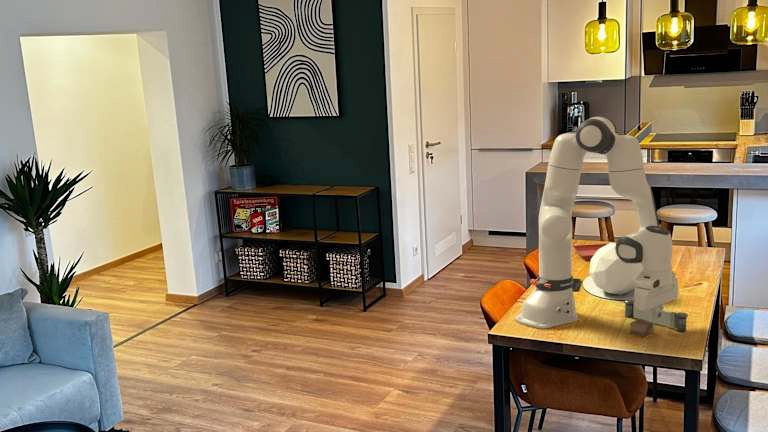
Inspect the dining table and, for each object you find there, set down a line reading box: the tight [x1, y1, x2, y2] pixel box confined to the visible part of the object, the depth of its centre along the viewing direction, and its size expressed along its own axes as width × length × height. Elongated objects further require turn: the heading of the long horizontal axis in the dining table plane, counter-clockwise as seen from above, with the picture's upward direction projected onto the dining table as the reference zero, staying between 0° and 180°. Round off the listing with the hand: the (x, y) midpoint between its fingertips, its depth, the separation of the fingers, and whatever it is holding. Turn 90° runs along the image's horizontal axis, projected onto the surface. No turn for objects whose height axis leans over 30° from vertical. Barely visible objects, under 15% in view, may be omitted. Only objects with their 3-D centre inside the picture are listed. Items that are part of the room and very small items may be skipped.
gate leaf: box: [633, 305, 677, 329], centre depth 234 cm, size 1×15×5 cm, turn 37°
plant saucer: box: [572, 243, 609, 261], centre depth 320 cm, size 18×18×3 cm
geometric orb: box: [588, 242, 643, 296], centre depth 266 cm, size 19×20×20 cm
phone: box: [572, 277, 582, 293], centre depth 279 cm, size 8×1×15 cm
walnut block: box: [629, 318, 655, 339], centre depth 226 cm, size 5×5×4 cm
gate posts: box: [623, 298, 688, 333], centre depth 234 cm, size 4×23×6 cm, turn 37°
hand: (657, 317), depth 228 cm, fingers closed
